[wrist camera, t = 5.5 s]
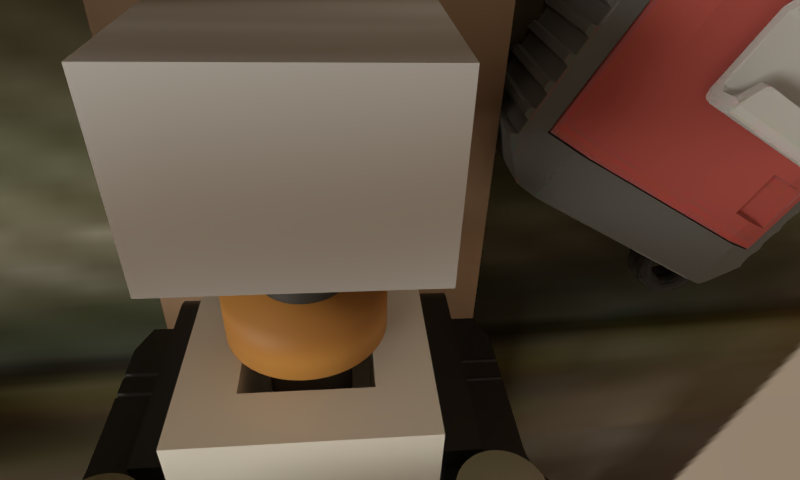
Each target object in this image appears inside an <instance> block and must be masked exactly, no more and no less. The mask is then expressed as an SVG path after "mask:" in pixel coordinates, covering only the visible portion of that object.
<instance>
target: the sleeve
mask: <svg viewBox="0 0 800 480" xmlns="http://www.w3.org/2000/svg"><path fill="white" fill-rule="evenodd" d="M352 386H353V388H346V389H325V390H304V391H284V392H273V391H272V384H271V377H269V376H266V375H263V374H260V373H258V372H256V371H254V370H252V369H250V368H249V367H247V366H246V365H244V364H243V363H242V362H241V361H240V360H238V359H237V358H236V356H235V355H234V354H233V352H232V351H231V349H230V347H229V345H228V341H227V338H226V332H225V327H224V321H223V316H222V311H221V305H220V300H219V296H205V297H202V299H201V302H200V305H199V309H198V312H197V316H196V319H195V322H194V326H193V329H192V332H191V336H190V339H189V342H188V346H187V349H186V352H185V356H184V359H183V362H182V366H181V369H180V373H179V376H178V379H177V383H176V386H175V389H174V393H173V396H172V399H171V403H170V406H169V409H168V413H167V416H166V419H165V423H164V426H163V429H162V433H161V436H160V440H159V443H158V446H157V450H156V452H157V455H158V458H159V461H160V464H161V467H162V470H163V473H164V476H165V479H166V480H440V474H441V466H442V457H443V449H444V440H445V431H444V425H443V420H442V415H441V409H440V404H439V398H438V393H437V388H436V382H435V377H434V371H433V366H432V360H431V355H430V350H429V344H428V339H427V333H426V328H425V322H424V317H423V312H422V306H421V301H420V295H419V290H388V292H387V325H386V331H385V334H384V336H383V339H382V341H381V342H380V344H379V346H378V347H377V348H376V349H375V350H374V352H373V353H372V354H371V355H369V356H368V357H367V358H366V359H365V360H363V361H362V362H361V363H359V364H358V365H356V366H354V367H352Z"/></svg>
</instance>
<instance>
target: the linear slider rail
mask: <svg viewBox="0 0 800 480" xmlns="http://www.w3.org/2000/svg"><path fill="white" fill-rule="evenodd" d="M515 1H516V0H83V4H84V7H85V11H86V15H87V19H88V23H89V27H90V31H91V34H92V38H91V39H90V40H88V41H87V42H86V43H84V44H83V45H82V46H81V47H79V48H78V49H77V50H76V51H74V52H73V53H72V54H70V55H69V56H68V57H67V58H65V59H64V60H63V61H62V66H63V69H64V72H65V76H66V79H67V83H68V86H69V89H70V93H71V96H72V100H73V103H74V106H75V110H76V113H77V116H78V120H79V123H80V127H81V130H82V133H83V137H84V140H85V144H86V147H87V150H88V154H89V157H90V161H91V164H92V167H93V171H94V174H95V177H96V181H97V184H98V188H99V191H100V194H101V198H102V201H103V205H104V208H105V211H106V215H107V218H108V222H109V225H110V228H111V232H112V235H113V238H114V242H115V245H116V249H117V252H118V255H119V259H120V262H121V266H122V269H123V272H124V276H125V279H126V283H127V286H128V289H129V293H130V296H131V299H144V298H160V301H161V304H162V308H163V312H164V316H165V320H166V324H167V328H168V329H174V326H175V323H176V320H177V317H178V314H179V311H180V309H181V306H182V304H183V302H184V301H200V300H201V299H202V297H205V296H219V300H220V305H221V311H222V316H223V321H224V327H225V332H226V338H227V341H228V345H229V347H230V349H231V351H232V352H233V354H234V355H235V356H236V358H237V359H238V360H240V361H241V362H242V363H243V364H244V365H246V366H247V367H249V368H250V369H252V370H254V371H256V372H258V373H260V374H263V375H266V376H269V377H271V384H272V391H273V392H284V391H304V390H325V389H346V388H353V386H352V367H354V366H356V365H358V364H359V363H361V362H362V361H363V360H365V359H366V358H367V357H368V356H369V355H371V354H372V353H373V352H374V350H375V349H376V348H377V347H378V346H379V344H380V342H381V341H382V339H383V336H384V334H385V331H386V325H387V292H388V290H419V294H420V293H445V295H446V299H447V303H448V307H449V311H450V315H451V319H461V318H473V313H474V306H475V298H476V291H477V284H478V276H479V269H480V261H481V254H482V246H483V239H484V231H485V224H486V217H487V209H488V202H489V194H490V187H491V179H492V172H493V164H494V157H495V149H496V142H497V135H498V127H499V120H500V112H501V105H502V97H503V90H504V82H505V75H506V68H507V60H508V53H509V45H510V38H511V30H512V23H513V15H514V8H515Z"/></svg>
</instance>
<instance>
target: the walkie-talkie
mask: <svg viewBox="0 0 800 480" xmlns="http://www.w3.org/2000/svg"><path fill="white" fill-rule="evenodd" d="M545 4H546V5H547V7H546V9H545V10H544V12H543V13H542V15H541V16H540V17H539V19H538V20H532V21H531V22H530V24H529V25H528V28H529V30H530V32H529V33H528V35H527V36H526V38H525V39H524V41H523V42H522V44H521V45H520V44H515V46H514V47H513V49H512V50H511V51H512V52H513V54H514V55H513V57H512V58H511V60H510V61H509V63H508V64H507V68H506V75H505V82H504V90H503V97H502V105H501V112H500V120H499V127H498V135H497V142H496V146H497V148H498V149H499V151H500V153H501V155H502V157H503V159H504V161H505V163H506V165H507V166H508V168H509V170H510V172H511V174H512V176H513V178H514V180H515V181H516V183H517V184H518V185H520V186H521V187H522V188H524V189H525V190H526V191H527V192H529V193H530V194H531V195H533V196H534V197H536V198H537V199H539V200H541V201H543V202H544V203H546V204H548V205H550V206H551V207H553V208H555V209H557V210H559V211H561V212H563V213H565V214H566V215H568V216H570V217H572V218H574V219H576V220H578V221H580V222H581V223H583V224H585V225H587V226H589V227H591V228H593V229H595V230H596V231H598V232H600V233H602V234H604V235H606V236H608V237H610V238H611V239H613V240H615V241H617V242H619V243H621V244H623V245H625V246H626V247H628V248H630V249H631V251H630V253H629V255H628V262H629V268H630V269H631V270H632V271H633V272H634V273H635V275H636V277H637V279H638V280H639V281H640V282H641V283H642V284H643V285H644V286H645V287H646V288H647V289H649V290H653V291H658V292H660V291H665V290H670V289H675V288H676V287H678V286H680V285H681V284H683V283H685V282H686V281H688V280H690V281H693V282H695V283H704V282H706V281H709V280H711V279H713V278H716V277H718V276H720V275H723V274H725V273H727V272H730V271H732V270H734V269H737V268H739V267H741V266H742V263H743V262H744V261H745V260H746V259H747V258H748V257H749V256H751V255H752V254H753V253H755V252H757V251H758V250H759V249H760V248H761V247H762V244H764V243H765V242H766V241H767V240H768V239H769V238H770V237H771V236H772V235H773V234H776V233H777V232H779V231H780V230H781V229H782V226H783V225H784V224H785V223H786V222H787V221H788V220H790V219H791V218H792V217H793V216H794V215H796V214H798V213H799V212H800V0H546V1H545ZM655 262H656V263H658V264H660V265H659V266H656V267H652V266H653V264H654V263H655Z"/></svg>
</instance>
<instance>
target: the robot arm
mask: <svg viewBox="0 0 800 480" xmlns="http://www.w3.org/2000/svg"><path fill="white" fill-rule="evenodd" d="M419 295H420V301H421V306H422V312H423V317H424V322H425V328H426V333H427V339H428V344H429V350H430V355H431V360H432V366H433V371H434V377H435V382H436V388H437V393H438V398H439V404H440V409H441V415H442V420H443V425H444V431H445V440H444V449H443V457H442V466H441V474H440V480H548V479H547V478H546V477H545V476H543V475H542V474H541V472H540V471H539V470H538V469H537V468H536V467H535V466H534V465H533V464H532V463H531V462H530V460H529V459H528V457H527V455H526V453H525V451H524V448H523V445H522V442H521V439H520V436H519V432H518V429H517V426H516V423H515V420H514V416H513V413H512V410H511V407H510V403H509V400H508V397H507V394H506V391H505V387H504V384H503V381H502V380H501V374H500V371H499V368H498V365H497V362H496V361H495V355H494V352H493V349H492V345H491V342H490V339H489V336H488V335H487V334H486V333H485V332H484V331H483V329H482V328H481V327H480V326H479V325H478V324H477V323H476V322H475V320H474V319H473V318H461V319H451V315H450V311H449V307H448V303H447V299H446V295H445V293H420V294H419ZM200 302H201V300H200V301H184V302H183V304H182V306H181V309H180V311H179V314H178V317H177V320H176V323H175V326H174V329H159V330H154V331H153V332H152V333H151V334H150V335H149V336H148V337H147V338H146V339H145V340H144V341H143V342H142V343H141V344H140V345H139V346H138V347H137V348H136V350H135V351H134V353H133V356H132V358H131V361H130V363H129V366H128V368H127V371H126V373H125V375H126V377H125V379H123V381H122V383H121V386H120V388H119V391H118V397H117V398H115V401H114V403H113V406H112V408H111V411H110V414H109V416H108V419H107V421H106V424H105V426H104V429H103V431H102V434H101V436H100V439H99V441H98V444H97V446H96V449H95V451H94V454H93V456H92V459H91V461H90V464H89V466H88V469H87V471H86V473H85V475H84V477H83V480H166V479H165V476H164V473H163V470H162V467H161V464H160V461H159V458H158V455H157V452H156V450H157V446H158V443H159V440H160V436H161V433H162V429H163V426H164V423H165V419H166V416H167V413H168V409H169V406H170V403H171V399H172V396H173V393H174V389H175V386H176V383H177V379H178V376H179V373H180V369H181V366H182V362H183V359H184V356H185V352H186V349H187V346H188V342H189V339H190V336H191V332H192V329H193V326H194V322H195V319H196V316H197V312H198V309H199V305H200Z"/></svg>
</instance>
